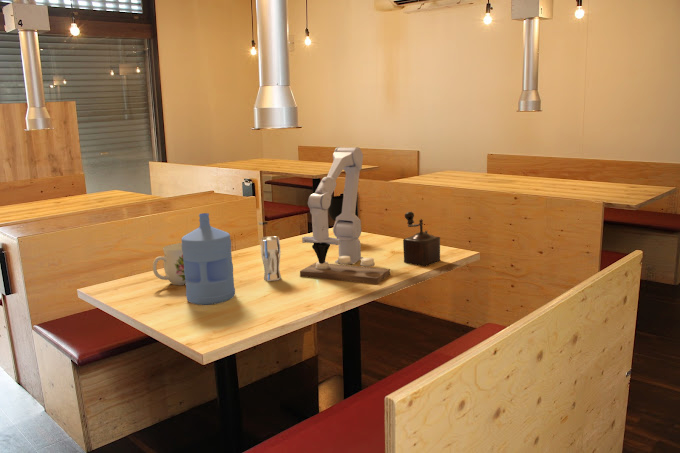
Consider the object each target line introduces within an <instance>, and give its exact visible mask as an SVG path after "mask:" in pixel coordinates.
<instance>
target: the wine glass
mask: <svg viewBox="0 0 680 453" xmlns="http://www.w3.org/2000/svg"><path fill="white" fill-rule="evenodd" d="M343 196H344V195H334V196H331V204H330V207H329V208H328V216H329V218H331V219H332V220H333V221H334V222H335V221H336V217H338V216H339V215H340V214H341V213H342V205H343ZM344 222H346V221H344Z"/></svg>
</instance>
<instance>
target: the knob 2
mask: <svg viewBox="0 0 680 453" xmlns="http://www.w3.org/2000/svg"><path fill="white" fill-rule="evenodd" d="M337 260H338V261H337ZM337 260H336V261H337V263H336V264H338V265H351V264H350V263H351V260H350V256H340V257H339V256H338V257H337Z"/></svg>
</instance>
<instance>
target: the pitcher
mask: <svg viewBox="0 0 680 453" xmlns="http://www.w3.org/2000/svg"><path fill="white" fill-rule="evenodd" d="M162 251H163V253H164V256H157V257H155V258H154V260H153V262H152V272H153V274H154V276H155V277H156V278H158V279H159V280H162V281H163V280H165V281H169V283H171V285H173V286H184V284H185V285H186V282H185V275H184V261H183V252H182V242H179V243H178V242H177V243H174V244H173V243H172V244H168V245H165V246H164V247H163V248H162ZM159 261H162V262H163V270H164V273H165V275H162V274H160V273H159V272H158V269H157V264H158V262H159Z"/></svg>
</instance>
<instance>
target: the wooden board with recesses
mask: <svg viewBox="0 0 680 453" xmlns="http://www.w3.org/2000/svg"><path fill="white" fill-rule="evenodd" d="M328 265H329V269H326V270H317V269H316V262H314V263H312V264H310V265H309V266H307V267H305V268H303V269H301V270H299V276H300V277H303V278H304V277H305V278H314V279H322V280H332V281H333V280H334V281H344V282H353V283H354V282H355V283H364V284H372V285H374V284H375V285H378V284H380V282H382V281H383V280H385V279H386V278H387V277H389V276H390V275H391V269H390V268H383V267H381V268H380V267H373V266H370V267H364V266H361V265H360V266H358V265H350V264H346V265H341V264H338V263H328ZM388 275H389V276H388Z"/></svg>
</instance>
